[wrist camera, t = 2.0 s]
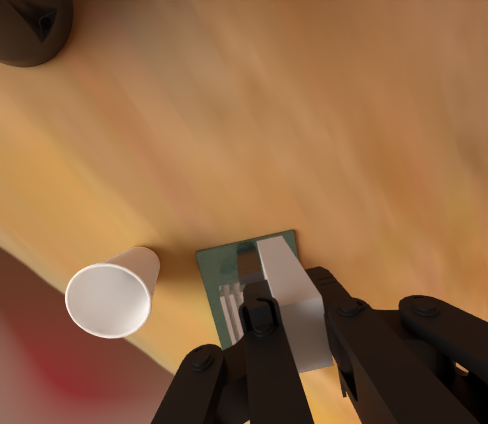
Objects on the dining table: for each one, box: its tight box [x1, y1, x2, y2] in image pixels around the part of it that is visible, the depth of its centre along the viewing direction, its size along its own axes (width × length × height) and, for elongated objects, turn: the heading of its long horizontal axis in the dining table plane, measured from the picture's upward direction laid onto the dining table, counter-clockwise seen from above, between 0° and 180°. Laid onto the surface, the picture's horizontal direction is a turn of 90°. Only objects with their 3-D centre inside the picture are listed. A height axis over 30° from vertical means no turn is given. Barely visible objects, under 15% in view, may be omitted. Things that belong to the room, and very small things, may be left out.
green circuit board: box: [195, 230, 299, 350], centre depth 37 cm, size 20×16×10 cm
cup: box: [65, 246, 160, 338], centre depth 34 cm, size 10×10×11 cm
